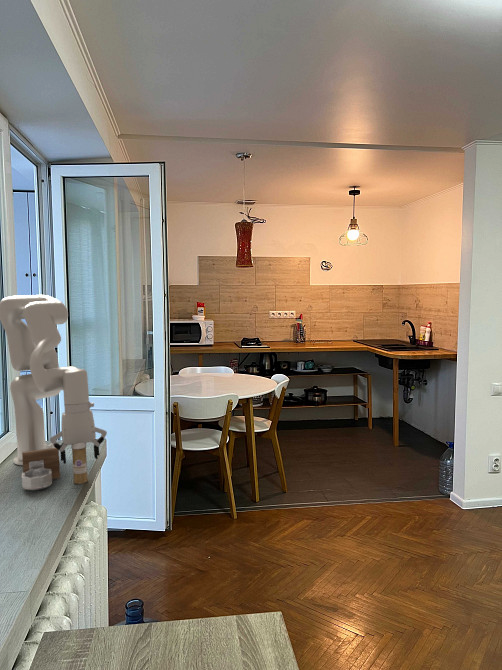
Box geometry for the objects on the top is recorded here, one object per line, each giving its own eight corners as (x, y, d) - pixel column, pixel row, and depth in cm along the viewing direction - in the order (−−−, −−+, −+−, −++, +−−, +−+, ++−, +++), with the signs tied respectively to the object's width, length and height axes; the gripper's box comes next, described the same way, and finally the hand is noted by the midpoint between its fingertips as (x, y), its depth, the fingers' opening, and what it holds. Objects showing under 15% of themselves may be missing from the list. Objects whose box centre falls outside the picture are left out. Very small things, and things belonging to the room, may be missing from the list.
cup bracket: (52, 487, 163) (51, 469, 162) (22, 492, 160) (21, 473, 159) (51, 476, 173) (50, 458, 172) (22, 480, 170) (21, 462, 169)
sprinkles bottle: (74, 485, 167) (72, 444, 166) (72, 480, 171) (70, 440, 170) (89, 482, 169) (87, 442, 168) (87, 478, 173) (85, 438, 172)
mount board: (60, 477, 174) (58, 448, 173) (24, 483, 170) (22, 453, 169) (59, 472, 179) (57, 443, 178) (24, 477, 175) (22, 448, 174)
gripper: (103, 402, 174) (106, 453, 176) (47, 408, 168) (51, 461, 169) (106, 406, 168) (109, 459, 169) (48, 413, 161) (52, 468, 162)
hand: (80, 460), depth 169 cm, fingers open, 9 cm apart
